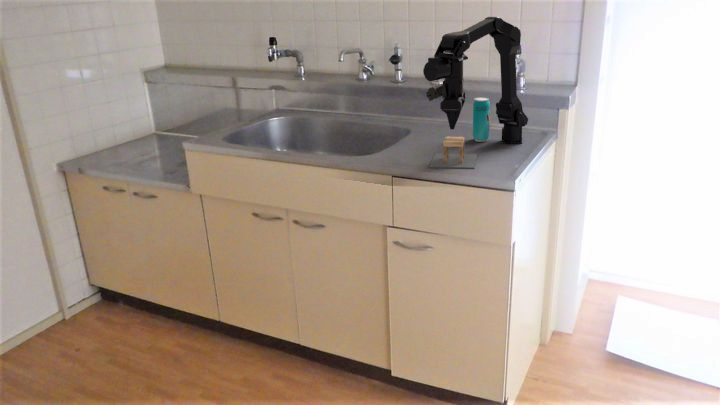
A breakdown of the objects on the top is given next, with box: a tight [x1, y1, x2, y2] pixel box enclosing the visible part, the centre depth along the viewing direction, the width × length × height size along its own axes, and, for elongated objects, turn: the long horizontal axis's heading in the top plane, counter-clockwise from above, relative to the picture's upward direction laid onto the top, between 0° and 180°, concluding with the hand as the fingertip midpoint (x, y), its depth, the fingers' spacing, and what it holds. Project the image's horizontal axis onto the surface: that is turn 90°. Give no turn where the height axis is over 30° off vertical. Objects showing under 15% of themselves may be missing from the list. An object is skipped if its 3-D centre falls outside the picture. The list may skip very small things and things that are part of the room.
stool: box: [442, 136, 465, 163], centre depth 193 cm, size 6×6×7 cm
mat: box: [429, 152, 478, 170], centre depth 194 cm, size 14×14×1 cm
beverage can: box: [472, 96, 491, 143], centre depth 212 cm, size 6×6×15 cm
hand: (453, 125), depth 190 cm, fingers open, 9 cm apart
